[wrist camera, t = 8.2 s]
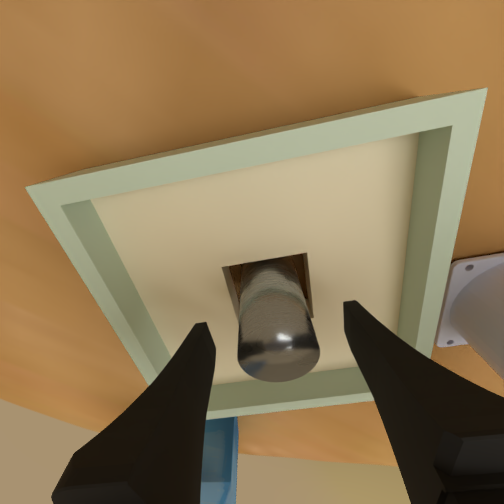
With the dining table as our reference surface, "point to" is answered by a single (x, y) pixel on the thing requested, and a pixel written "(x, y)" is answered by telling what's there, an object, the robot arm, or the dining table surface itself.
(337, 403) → the box
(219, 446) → the perfume bottle
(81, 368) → the dining table surface
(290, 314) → the peg
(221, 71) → the dining table surface
